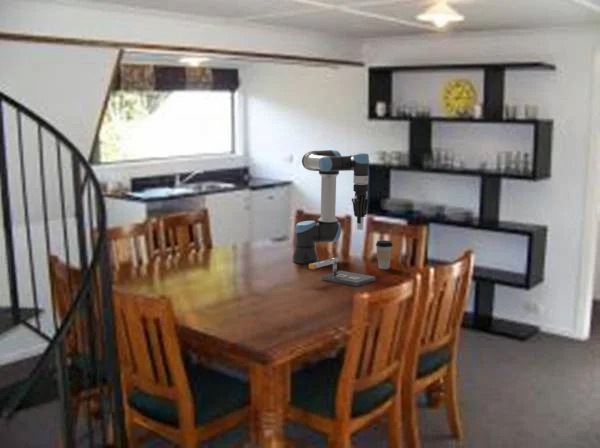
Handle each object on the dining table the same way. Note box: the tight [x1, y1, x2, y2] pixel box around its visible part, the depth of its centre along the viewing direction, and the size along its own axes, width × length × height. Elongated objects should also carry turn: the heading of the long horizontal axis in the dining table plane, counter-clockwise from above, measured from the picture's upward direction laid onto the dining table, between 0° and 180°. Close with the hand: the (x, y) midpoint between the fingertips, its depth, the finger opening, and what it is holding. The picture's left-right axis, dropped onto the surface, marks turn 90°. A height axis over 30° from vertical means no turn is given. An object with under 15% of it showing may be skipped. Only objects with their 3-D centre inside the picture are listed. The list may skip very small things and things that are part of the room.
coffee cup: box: [375, 240, 394, 270], centre depth 369 cm, size 9×9×15 cm
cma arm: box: [308, 257, 340, 270], centre depth 340 cm, size 22×4×2 cm, turn 139°
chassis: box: [322, 263, 376, 287], centre depth 342 cm, size 22×16×8 cm
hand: (360, 229), depth 341 cm, fingers closed
